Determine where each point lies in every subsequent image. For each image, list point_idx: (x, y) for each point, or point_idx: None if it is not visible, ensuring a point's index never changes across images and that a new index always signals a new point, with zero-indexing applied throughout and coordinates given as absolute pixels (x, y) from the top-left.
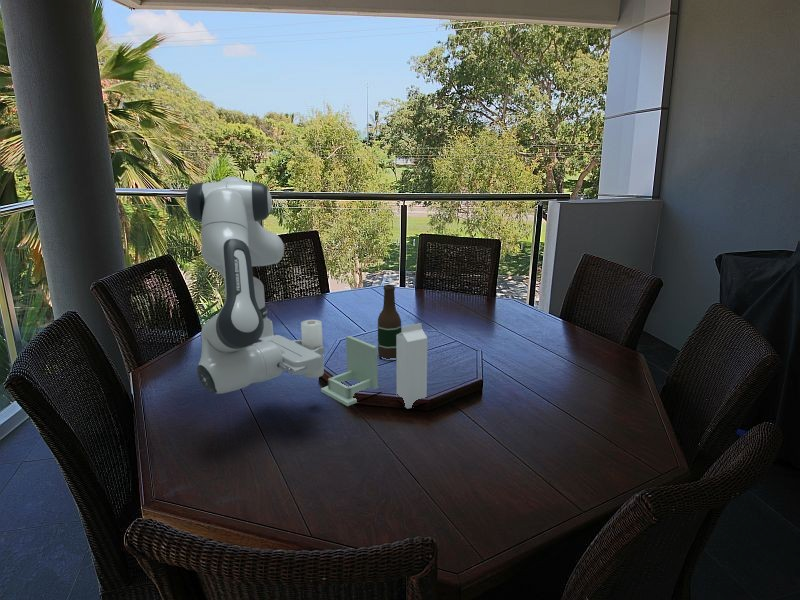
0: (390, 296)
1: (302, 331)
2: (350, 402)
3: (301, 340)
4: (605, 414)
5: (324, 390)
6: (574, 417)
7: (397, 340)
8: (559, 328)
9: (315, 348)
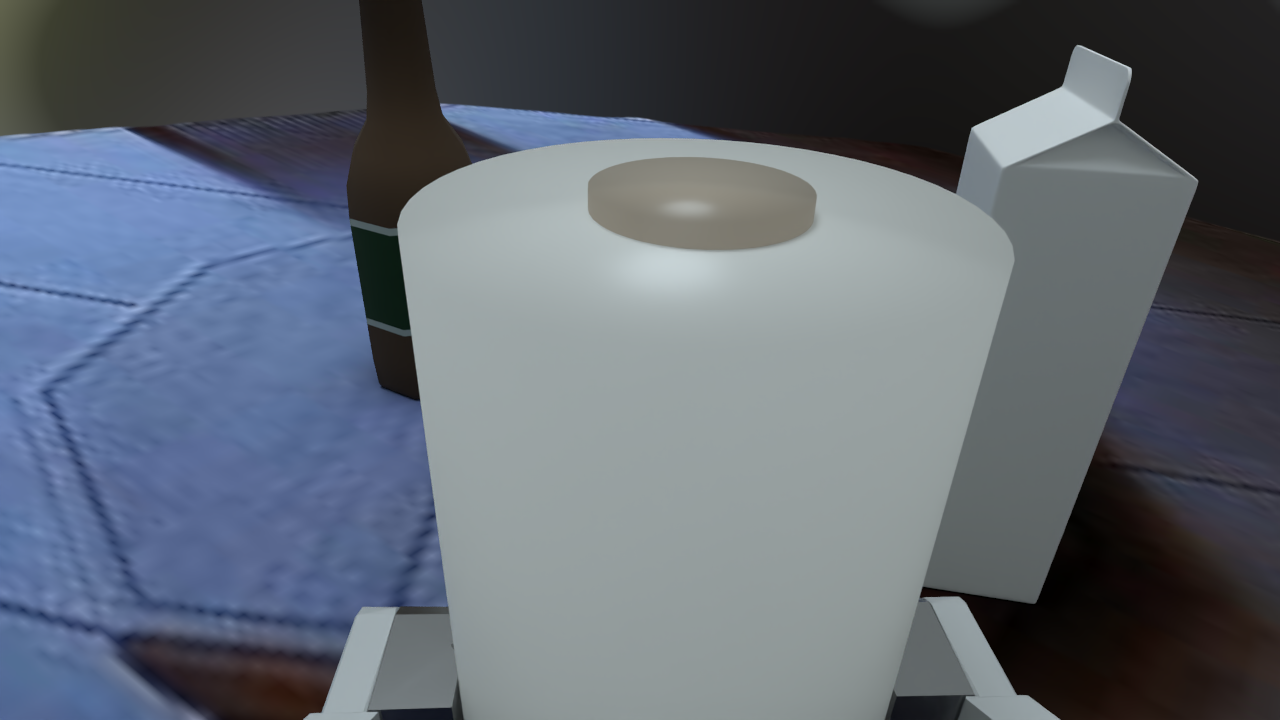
0: (417, 22)
1: (693, 561)
2: None
3: (348, 705)
4: (1255, 282)
5: None
6: (1267, 320)
7: (1011, 208)
8: (691, 135)
9: (891, 715)
